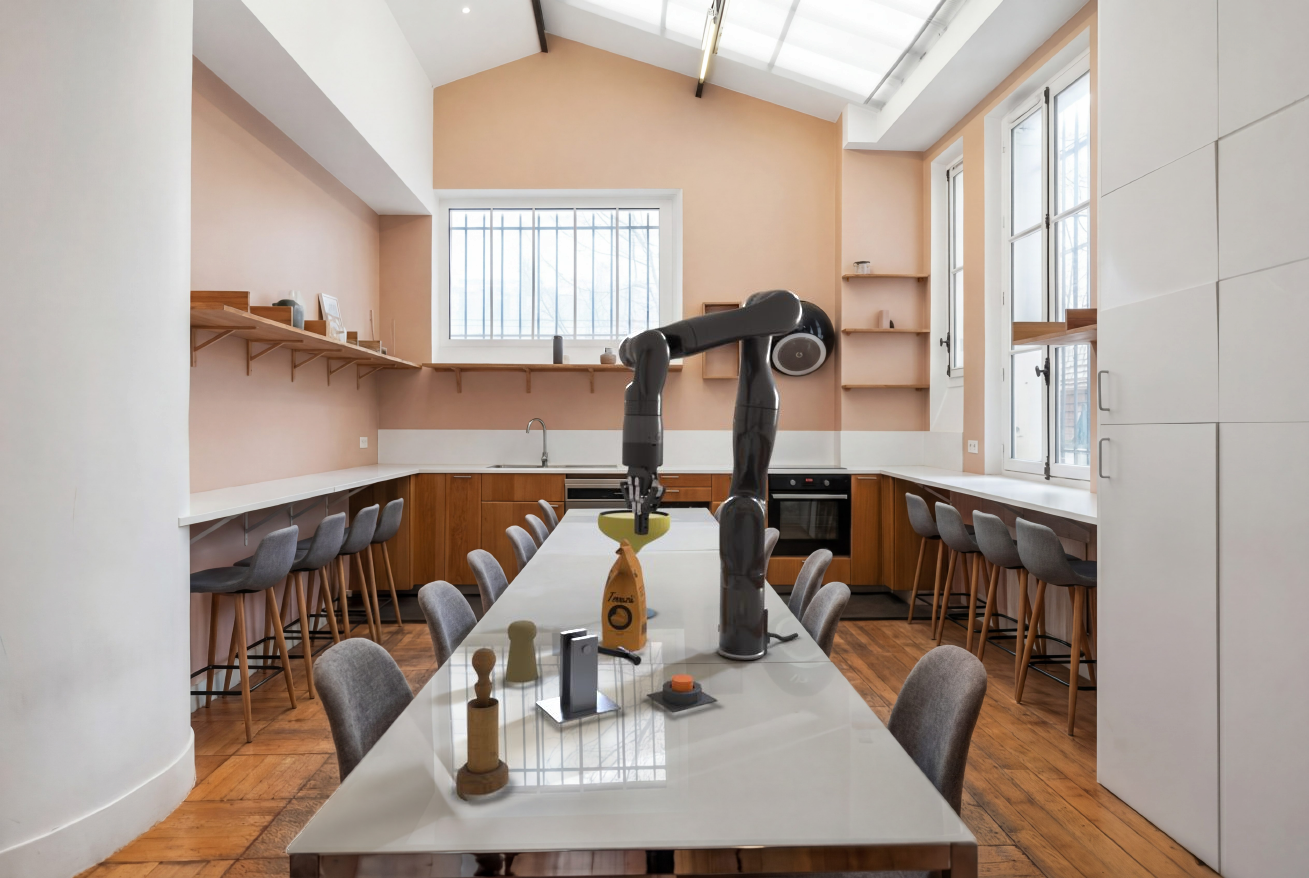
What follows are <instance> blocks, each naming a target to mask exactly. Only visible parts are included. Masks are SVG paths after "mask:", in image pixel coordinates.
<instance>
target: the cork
mask: <svg viewBox="0 0 1309 878" xmlns="http://www.w3.org/2000/svg"><path fill="white" fill-rule="evenodd" d="M537 632H538V631H537V625H536V624H535V623H534V621H532V620H524V619H523V620H522V619H521V620H515V621H512V622H511V623H510V624H509V625H508V627H507V637H508V640H509V641H510V642H509V650H508V656H507V663H506V670H505V680H506V681H508V682H511V683H518V684H519V683H520V684H521V683H528V682H532V681H535V680H536V679H538V668H537V667H538V666H537V658H536V650H535V643H534V639H535V638H536V636H537V634H538V633H537Z"/></svg>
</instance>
